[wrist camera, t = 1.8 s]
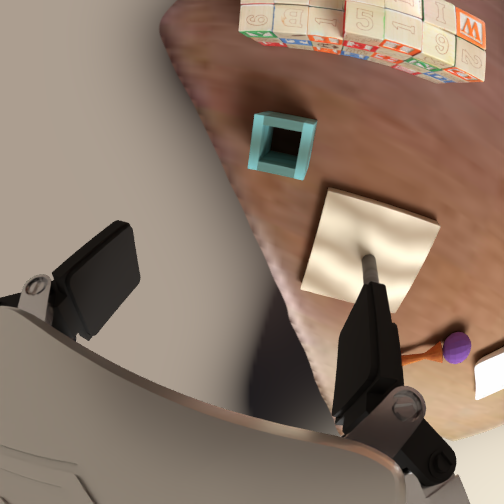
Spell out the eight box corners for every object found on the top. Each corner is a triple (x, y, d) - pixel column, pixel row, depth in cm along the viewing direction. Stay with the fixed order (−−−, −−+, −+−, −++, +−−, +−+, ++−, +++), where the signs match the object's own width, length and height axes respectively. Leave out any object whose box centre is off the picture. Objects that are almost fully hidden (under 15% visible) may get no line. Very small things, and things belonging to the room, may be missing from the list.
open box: (268, 111, 30) (254, 114, 25) (317, 120, 29) (313, 124, 24) (261, 156, 33) (247, 168, 28) (308, 166, 32) (303, 180, 27)
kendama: (370, 366, 43) (473, 342, 32) (373, 344, 48) (467, 322, 37) (376, 385, 44) (472, 365, 33) (379, 364, 49) (468, 344, 38)
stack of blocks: (262, 47, 25) (223, 24, 15) (266, 4, 22) (229, -34, 12) (437, 84, 21) (486, 83, 11) (441, 40, 18) (487, 22, 8)
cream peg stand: (328, 186, 33) (325, 218, 25) (437, 221, 30) (460, 260, 22) (301, 283, 42) (291, 328, 34) (393, 306, 39) (399, 352, 32)
